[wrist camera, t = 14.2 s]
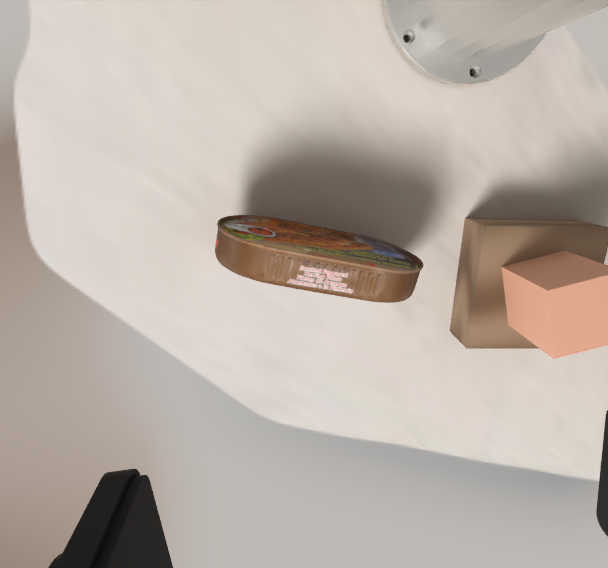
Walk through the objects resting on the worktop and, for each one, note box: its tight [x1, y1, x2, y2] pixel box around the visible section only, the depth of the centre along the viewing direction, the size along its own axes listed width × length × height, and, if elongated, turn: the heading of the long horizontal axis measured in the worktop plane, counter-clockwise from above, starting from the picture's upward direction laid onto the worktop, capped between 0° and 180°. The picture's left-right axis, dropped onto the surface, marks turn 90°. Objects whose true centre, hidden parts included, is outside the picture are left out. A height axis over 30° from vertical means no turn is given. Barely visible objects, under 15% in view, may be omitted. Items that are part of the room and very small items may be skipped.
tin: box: [215, 215, 423, 303], centre depth 32 cm, size 15×3×8 cm, turn 78°
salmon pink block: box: [502, 251, 608, 359], centre depth 32 cm, size 5×5×6 cm
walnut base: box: [450, 218, 608, 348], centre depth 37 cm, size 10×10×4 cm
